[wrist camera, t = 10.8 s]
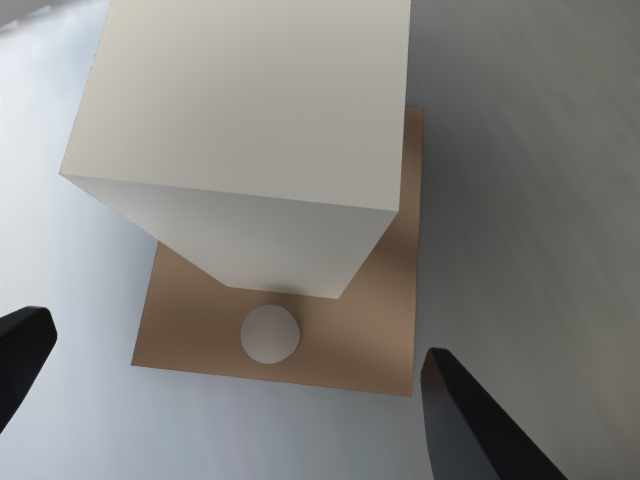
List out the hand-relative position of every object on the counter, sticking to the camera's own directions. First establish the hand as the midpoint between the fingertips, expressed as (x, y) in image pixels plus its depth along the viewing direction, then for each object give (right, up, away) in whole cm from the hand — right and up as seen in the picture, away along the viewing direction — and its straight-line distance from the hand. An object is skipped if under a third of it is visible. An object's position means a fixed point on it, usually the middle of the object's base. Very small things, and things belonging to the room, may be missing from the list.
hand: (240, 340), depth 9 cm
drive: (+1, +3, +9) cm, 9 cm away
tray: (+1, +3, +10) cm, 11 cm away
